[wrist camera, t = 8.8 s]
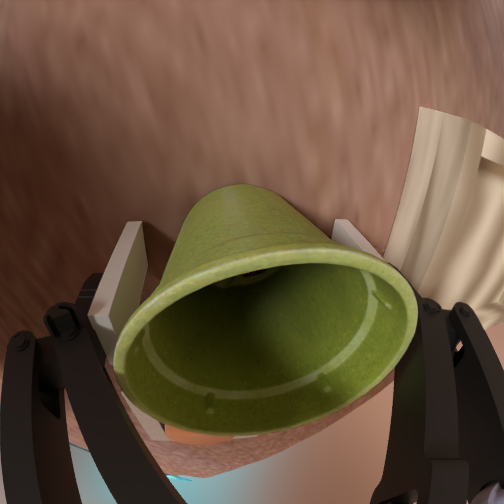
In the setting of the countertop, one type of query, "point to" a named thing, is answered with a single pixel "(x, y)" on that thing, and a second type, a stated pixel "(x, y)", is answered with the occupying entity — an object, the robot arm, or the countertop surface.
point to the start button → (193, 437)
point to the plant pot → (261, 322)
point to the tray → (453, 216)
